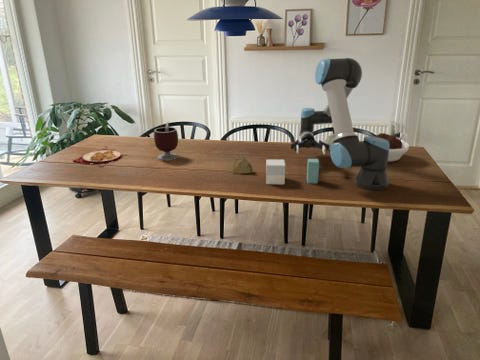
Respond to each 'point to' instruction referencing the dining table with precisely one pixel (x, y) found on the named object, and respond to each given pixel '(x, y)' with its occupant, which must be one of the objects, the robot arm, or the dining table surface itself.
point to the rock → (242, 165)
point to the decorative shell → (330, 140)
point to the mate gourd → (166, 141)
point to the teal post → (312, 170)
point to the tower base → (275, 179)
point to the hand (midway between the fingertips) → (311, 151)
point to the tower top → (275, 167)
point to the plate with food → (100, 156)
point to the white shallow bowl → (394, 146)
